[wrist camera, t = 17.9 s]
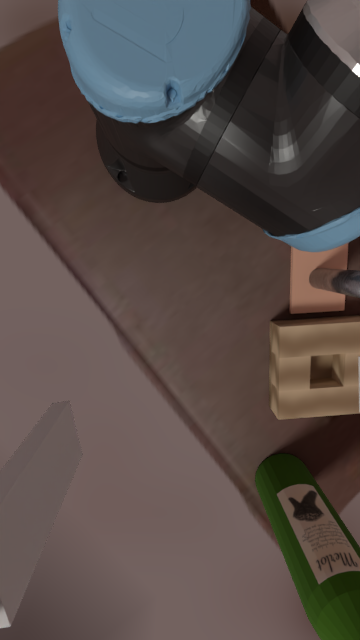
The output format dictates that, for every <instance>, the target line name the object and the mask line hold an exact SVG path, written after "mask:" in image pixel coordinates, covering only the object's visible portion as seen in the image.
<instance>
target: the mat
mask: <svg viewBox="0 0 360 640" xmlns="http://www.w3.org/2000/svg"><path fill="white" fill-rule="evenodd" d="M348 243H349V242H348ZM348 243H346V244H344V245H342V246H339V247H337V248H334V249H331V250H327V251H322V252H307V251H301V250H298V249H296V248H294V247H292V246H291V278H290V313H291V314H296V313H312V312H328V311H343V310H344V308H345V295H344V294H339V293H335V292H330V291H325V290H321V289H316V288H314V287H312V286H311V285H310V283H309V276H310V274H311V272H312V271H313V270H314V269H316V268H330V269H343V270H347V259H348Z"/></svg>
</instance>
